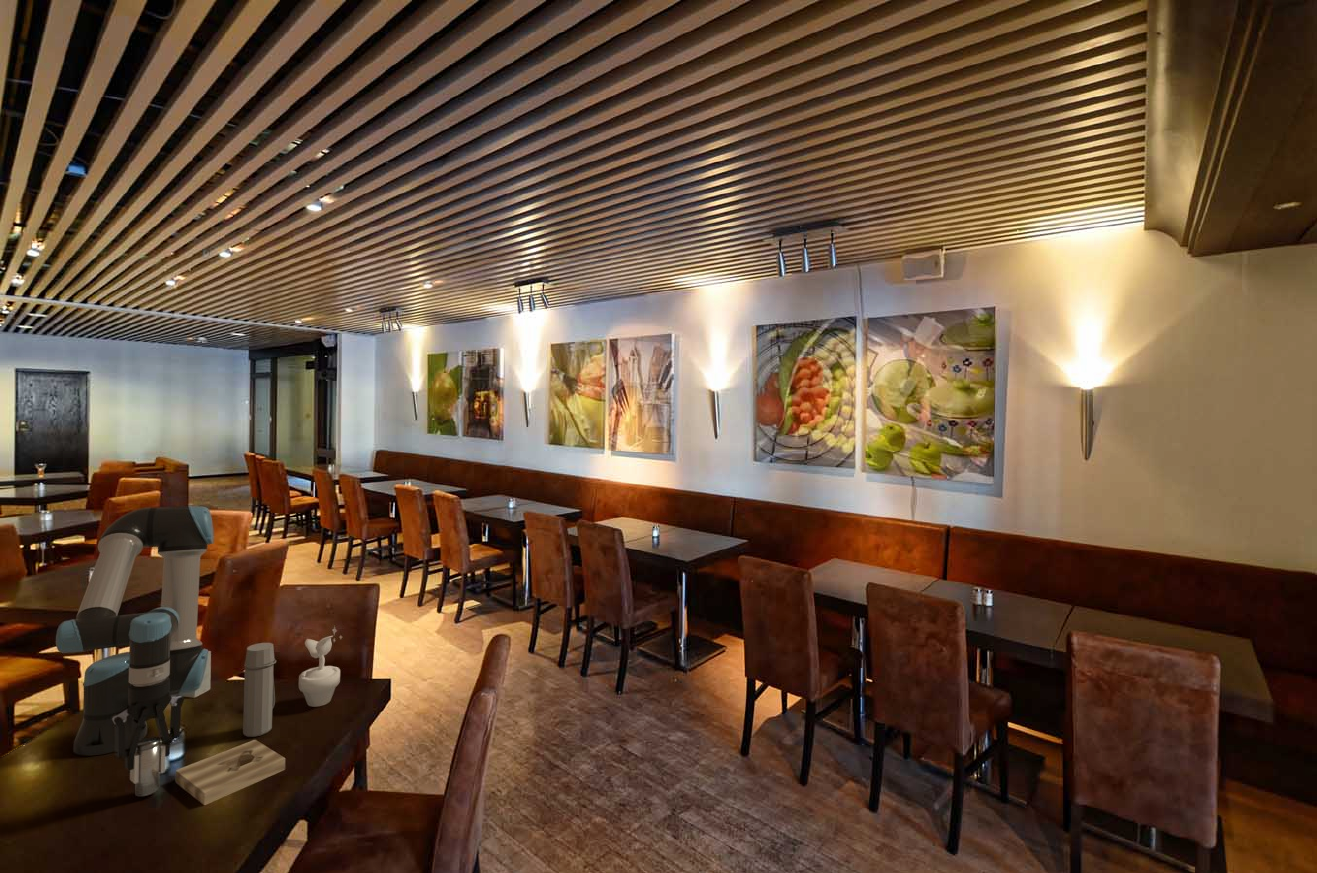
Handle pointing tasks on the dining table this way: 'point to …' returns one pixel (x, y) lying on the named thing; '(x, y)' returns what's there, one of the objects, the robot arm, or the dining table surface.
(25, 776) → the dining table surface
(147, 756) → the grey metallic cylinder
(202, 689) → the small box
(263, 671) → the water bottle
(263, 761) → the jig
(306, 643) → the potted plant
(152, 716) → the robot arm
